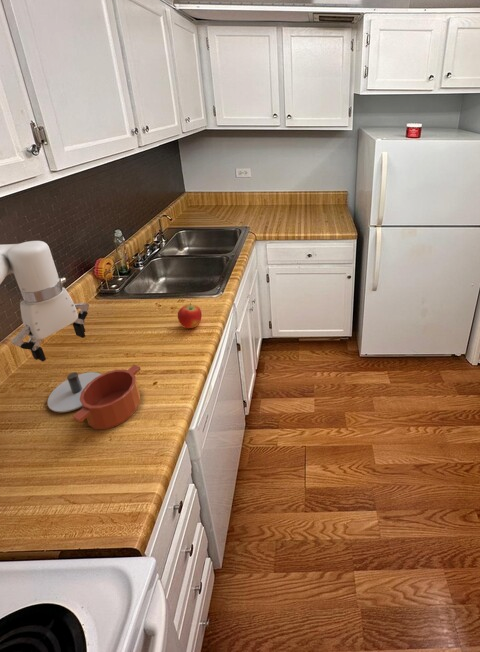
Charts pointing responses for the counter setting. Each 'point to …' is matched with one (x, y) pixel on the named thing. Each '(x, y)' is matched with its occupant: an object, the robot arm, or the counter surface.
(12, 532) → the counter surface
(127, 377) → the saucepan
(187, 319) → the apple
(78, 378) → the pan lid
